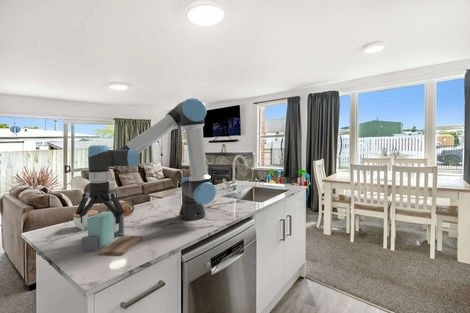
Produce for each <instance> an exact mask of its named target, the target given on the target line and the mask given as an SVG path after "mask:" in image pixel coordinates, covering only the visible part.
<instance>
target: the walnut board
mask: <svg viewBox="0 0 470 313" xmlns="http://www.w3.org/2000/svg"><path fill="white" fill-rule="evenodd" d="M142 239H143V235H126V234H125V235H120V237H118V238H117V239H115V240H114V241H113V242H111V243H110V244H108V245H107V246H106V247H104V248H103V249H102V250H100V251H99V254H100V256H101V255H102V256H104V255H106V256H107V255H111V256H114V255H115V256H117V255H118V256H122V255H123V256H124V255H125V254H126V253H127V252H128V251H130V250H131V249H132V247H134V246H135V245H136V244H138V242H140V241H141V240H142Z"/></svg>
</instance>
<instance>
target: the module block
mask: <svg viewBox="0 0 470 313" xmlns="http://www.w3.org/2000/svg"><path fill="white" fill-rule="evenodd" d="M87 227H88V230H87V236H99V243H100V248H102V247H103V246H105V245H106V244H108V243H109V242H111V241H112V240H114V239H115V237H114V232H113V213H112V212H102V211H101V212H98V214H96V215H94V216H92V217H90V218H87Z"/></svg>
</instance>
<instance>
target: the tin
mask: <svg viewBox="0 0 470 313" xmlns="http://www.w3.org/2000/svg"><path fill="white" fill-rule="evenodd" d="M112 204H113V203H112ZM120 204H121V206H122V208H123V210H124V212H125V213H124V218H125V217H129V216H131V215H132V214H133V213H134V211H135V205H134V204H133V202H130V201H122V202H120ZM113 205H114V204H113ZM106 211H110V210H109V208H108V207H107V209H106Z"/></svg>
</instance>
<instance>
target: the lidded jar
mask: <svg viewBox="0 0 470 313" xmlns="http://www.w3.org/2000/svg"><path fill="white" fill-rule="evenodd" d="M98 213H99V211H98V210H96V209H90V210H89V211H88V212H87V214H86V215H88V218H90V217H92V216H94V215H96V214H98ZM72 217H73V222H74V225H75V226H76V228H78V229H79V230H81V231H83V228H82V223H81V216H80V215H76V212H75V213H73V214H72Z"/></svg>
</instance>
